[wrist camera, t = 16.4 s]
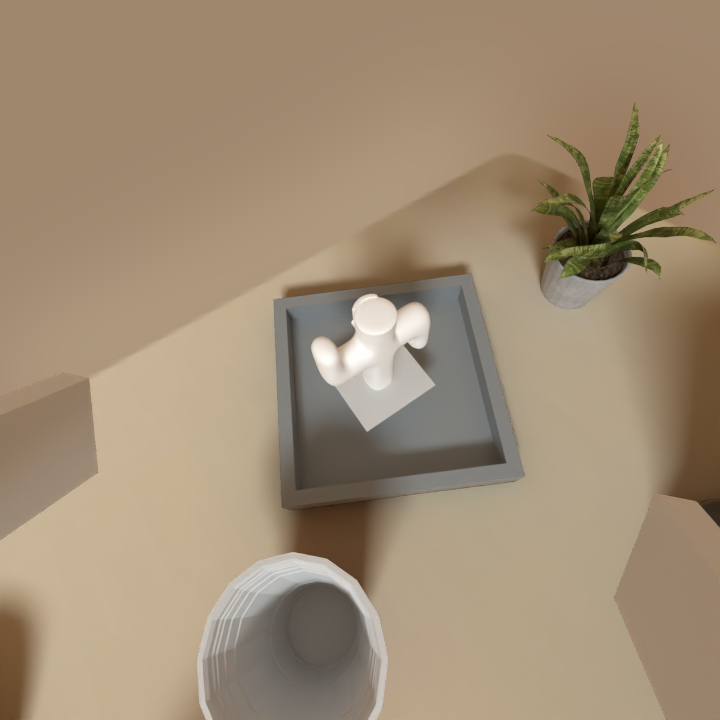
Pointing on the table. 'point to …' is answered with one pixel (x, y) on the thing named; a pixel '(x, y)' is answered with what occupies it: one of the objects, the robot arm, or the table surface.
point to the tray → (409, 424)
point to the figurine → (377, 359)
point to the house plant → (605, 226)
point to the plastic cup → (292, 645)
